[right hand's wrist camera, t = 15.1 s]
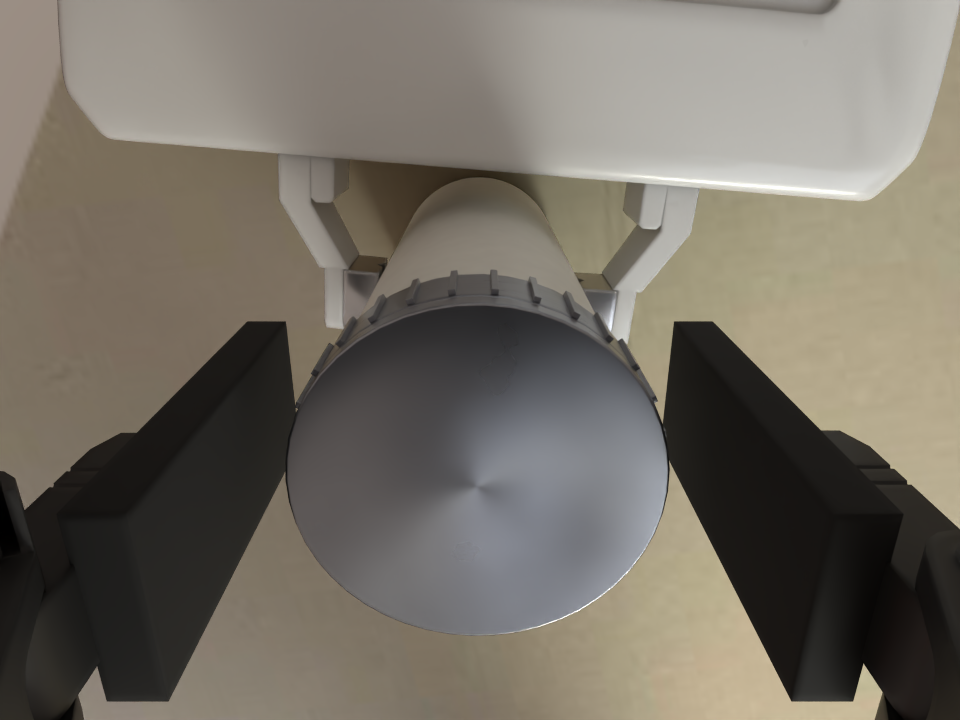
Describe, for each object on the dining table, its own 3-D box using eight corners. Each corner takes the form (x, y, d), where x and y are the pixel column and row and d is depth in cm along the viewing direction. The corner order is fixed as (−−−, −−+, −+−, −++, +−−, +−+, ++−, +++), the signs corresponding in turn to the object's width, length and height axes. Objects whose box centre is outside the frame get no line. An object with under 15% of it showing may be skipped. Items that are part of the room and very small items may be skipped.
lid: (670, 541, 13) (697, 604, 11) (362, 599, 13) (347, 667, 12) (621, 230, 11) (646, 254, 9) (256, 313, 11) (220, 349, 10)
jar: (566, 307, 26) (672, 577, 12) (425, 338, 26) (360, 634, 12) (537, 160, 24) (623, 267, 10) (386, 197, 24) (252, 349, 10)
